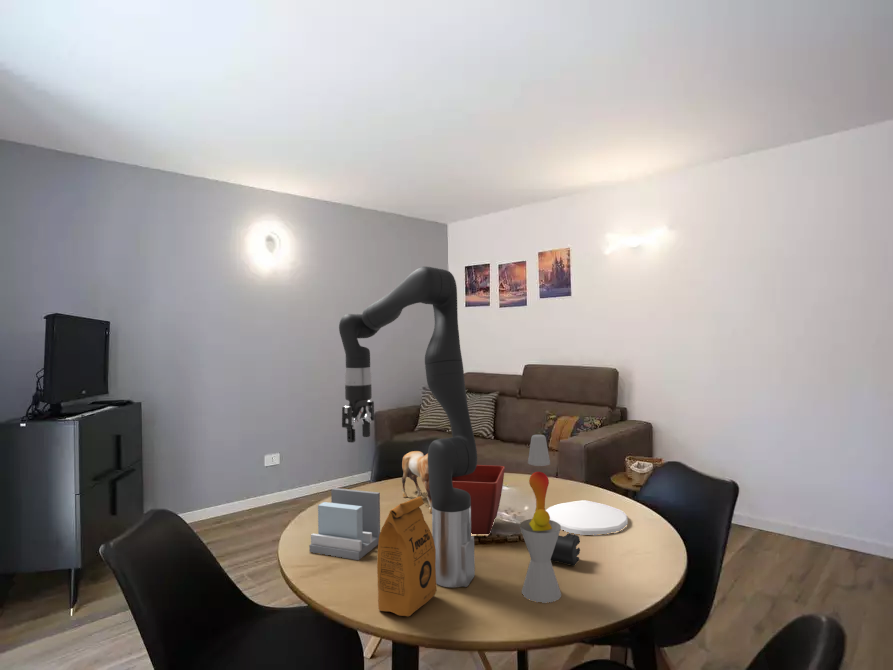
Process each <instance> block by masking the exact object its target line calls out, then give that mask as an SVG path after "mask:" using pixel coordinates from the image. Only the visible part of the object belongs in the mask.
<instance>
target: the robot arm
mask: <svg viewBox="0 0 893 670" xmlns="http://www.w3.org/2000/svg"><path fill="white" fill-rule="evenodd" d="M457 289H458V287H457V281H456V279H455V277H454V274H453V273H452V272H450V271H449V270H446V269H442V268H438V267H432V266H420V267H418V268H416V269H415V270H413V271H412V272H411V273H409V275H407V276H406V278H404V279H403V280H402V281H401V282H400V283H399V284H398V285H396V287H394V288H393V289H392V290H391V291H390V292H389V293H387V294H385V295H384V296H383V297H381V298H380V299H378V300H376V301H375V302H373V303H371V304H369V305H368V306H366V307H365V308H364V309H363V311H362V313H360V314H359V313H346V314H344V315H343V316H342V317H341V318H340V321H339V325H338V331H339V335H340V339H341V342H342V346H343V349H344V353H345V373H344V389H345V391H344V397H345V400H346V401H348V403H349V404H348V405H343V406H342V407H341V408H342V411H341V427H342V428H344V429H346V440H347V441H346V442H347V443H355V442H356V427H357V423H359V422H360V420H361V423H362V425H361V426H362V430H361V431H362V433H361V434H362V437H363V438H369V437H371V424H372V422H374V421H375V404H374V403H375V402H374V400H371V399H372V398H373V397H372V391H373V390H372V372H371V351H370V349H369V347H365V346H362V345H360V342H359V340H358V339H369V338H372V337H373V336H375V335H376V334H377V333H378V332H379V331H380V330H381V328H383V327H385V326H388V325H389V324H392V323H394V322H395V321H396V320H397V319H398V318H399V316H401V314H402V312H403V310H404V309H405V308H406V307H408V306H411V305H412V306H413V305H415V304H420V303H421V304H425V305H432V309H433V317H434V328H433V332H432V335H431V338H430V339H429V342H428V345H427V348H426V350H425V355H424V369H425V376H426V383H427V387H428V389H429V391H430V392H431V394H432V395H433V397H434V399H435V400H436V402H437V403H439V405H440V407H442V409H443V411H444V412H445V414H446V416H447V418H448V421H449V424H450V429H451V435H452V436H451V437H445V438H439V439H438V438H437V439H434V440H433V441H432V442H430V444H429V446H428V450H427V453H428V472H429V488H430V495H431V499H432V513H431V525H432V526H431V530H432V531H431V534H432V537H433V539H434V545H435V549H436V562H435V570H436V585H438V586H441V587H444V588H461V587H464V588H466V587H468V586H469V585H470V583H471V582H472V580H473V579H474V577H475V576H476V575H475V573H476V572H475V571H476V570H475V569H476V567H475V536H471V497H470V494H469V493H468V492H466V491H464V490H461V489H457V488H453V484H452V478H453V477H459V476H464V475H468V474H471V473H473V472H474V471H475V469H476V466H477V465H478V450H477V445H476V439H475V436H474V429H473V425H472V421H471V417H470V411H469V406H468V399H467V398H468V397H467V390H466V382H465V381H466V380H465V374H464V373H465V372H464V363H463V357H462V351H461V342H460V340H461V339H460V332H459V331H460V330H459V321H458V320H459V318H458V317H459V315H458V314H459V313H458V290H457Z"/></svg>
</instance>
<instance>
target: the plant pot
mask: <svg viewBox="0 0 893 670" xmlns="http://www.w3.org/2000/svg"><path fill="white" fill-rule="evenodd" d="M505 469H506V468H505V466H503V465H487V464H477V466H476V469H475V471H474V472H473V473H471V474H468V475H464V476H459V477H453V478H452V484H453V488H457V489H461V490H464V491H466V492H468V493H469V494H470V497H471V533H472V534H489V533H490V531H491V532H492V530H491V528H492V525H493V522H494V519H495V518H496V519H497V516H498V512H499V508H500V502H501V498H502V492H503V487H504V486H503V485H504V478H505ZM493 526H494V525H493ZM492 529H493V528H492ZM490 534H491V533H490Z"/></svg>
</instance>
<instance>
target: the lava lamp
mask: <svg viewBox="0 0 893 670" xmlns="http://www.w3.org/2000/svg"><path fill="white" fill-rule="evenodd" d="M527 464H529V465H530V466H535V467H544V466H549V465H551V460H550V454H549V449H548V443H547V437H546V436H545V435H544V434H533V435H532V436H531V439H530V445H529V453H528V459H527ZM528 480H529V482H528V483H529V487H530V488H531V489H532V492H533V494H534V496H535V502H536V503H535V506H536V507H535V511H534V513H533V517H532V518H529V519H525V520H523V521H521V522H520V523H519V528H520V532H521V535H522V537H523V539H524V542H525V543H524V544H525V546H526V548H527V551H528V555H529V556H530V557H529V558H530V560H529V564H528V568H527V571H526V575H525V578H524V581H523V585H522V588H521V594H523V595H524V596H523V595H522V596H523V598H525V597H526V598H525V599H527V600H528V599H530V600H529V601H531V600H532V601H531V602H533V601H536V602H535V603H538V602H542V603H541V604H546V603H547V602H548V603H549V602H550V603H554V602H557V601H558V600H559V599H561V597H562V592H561V589H560V587H559V583H558V580H557V576H556V574H555V570H554V568H553V564H552V561H551V557H552V554H553V551H554V548H555V545H556V542H557V539H558V536H560V535H559V534H560V532H561V530H560V529H561V526H560V524H558V523H557V522H555V521H552V520H550V516H549V514H548V512H547V511H546V510H547V509H546V508H545V507H546V496H547V492H548V488H549V484H550V479H549V477H548V476H547V475H546V473H545V472H542V471H534V472H533V473H532V474H531V475H530V477H529V479H528ZM556 600H557V601H556ZM553 601H554V602H553ZM548 603H547V604H548Z"/></svg>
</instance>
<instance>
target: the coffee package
mask: <svg viewBox="0 0 893 670" xmlns="http://www.w3.org/2000/svg"><path fill="white" fill-rule="evenodd" d="M424 503H425V502H424V500H423V497H422V496H421V497H417V496H416V497H415V498H412V499H409V500H408V501H404V502H401V503H400V504H398V505H396V506H395V507H393V508H391V510H390V511H389V513H388V516H387V517H386V519H385V521H384V524H383V526H382V527H381V528H380V535H379V542H378V545H377V562H376V563H377V565H376V568H377V569H376V570H377V571H376V573H377V595H378V596H377V602H378V605H377V606H378V610H379V611H381V612H389V613H390V612H391V613H393V614H395V615H397V616H399V617H402V616H403V617H410V616H411V615H413V613H415V612H416V611H417V610H419V609H420V608H421V607H422V606H424V605H426V604H427V603H429V601H430V600H431V599H432V598H433V597H435V595H436V593H437V584H436V570H435V562H436V549H435V545H434V539H433V537H432V531H431V529H430V528H429V525H428V524H427V522H426V521H425V517H424V514H423V510H422V509H421V508H420V507H422V506H423V505H424Z"/></svg>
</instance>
